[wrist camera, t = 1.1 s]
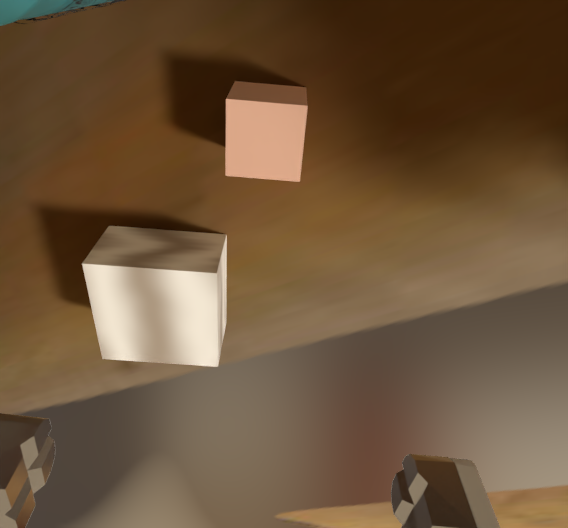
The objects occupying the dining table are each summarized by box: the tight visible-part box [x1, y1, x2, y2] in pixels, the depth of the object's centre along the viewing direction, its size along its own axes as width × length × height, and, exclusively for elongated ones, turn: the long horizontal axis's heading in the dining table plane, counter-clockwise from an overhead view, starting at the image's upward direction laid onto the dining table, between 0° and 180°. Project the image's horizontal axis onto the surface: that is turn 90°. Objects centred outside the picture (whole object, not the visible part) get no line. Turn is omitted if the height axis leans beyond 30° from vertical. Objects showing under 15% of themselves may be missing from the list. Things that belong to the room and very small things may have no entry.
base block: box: [82, 226, 227, 367], centre depth 39 cm, size 10×10×6 cm
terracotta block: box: [226, 81, 308, 182], centre depth 31 cm, size 5×5×5 cm
